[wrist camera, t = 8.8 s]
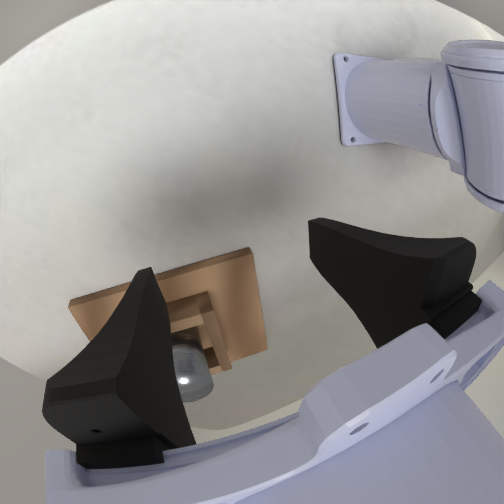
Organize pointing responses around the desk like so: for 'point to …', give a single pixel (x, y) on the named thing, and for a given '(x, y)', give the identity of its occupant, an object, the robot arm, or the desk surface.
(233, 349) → the socket board
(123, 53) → the desk surface
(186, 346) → the pin
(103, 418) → the robot arm
